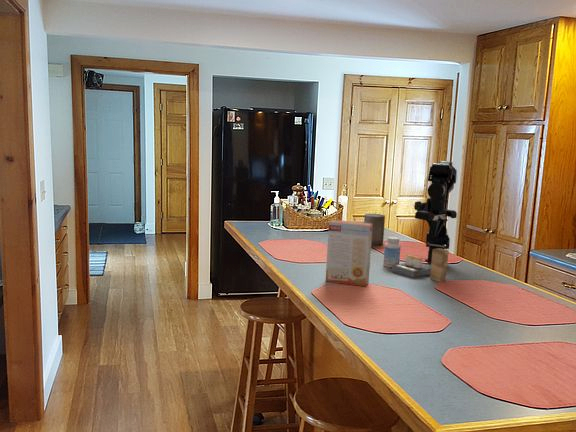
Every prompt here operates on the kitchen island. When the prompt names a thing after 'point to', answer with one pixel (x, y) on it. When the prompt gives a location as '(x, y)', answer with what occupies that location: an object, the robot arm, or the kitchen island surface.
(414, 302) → the kitchen island surface
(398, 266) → the breaker panel
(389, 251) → the pill bottle
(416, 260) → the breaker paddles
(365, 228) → the cracker box
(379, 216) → the pillar candle
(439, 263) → the oak post
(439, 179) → the robot arm
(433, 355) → the kitchen island surface
